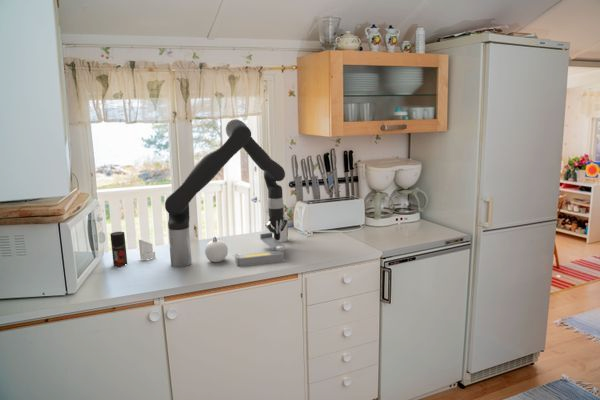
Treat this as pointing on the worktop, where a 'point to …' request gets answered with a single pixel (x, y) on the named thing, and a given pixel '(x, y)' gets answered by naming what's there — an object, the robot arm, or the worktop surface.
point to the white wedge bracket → (146, 250)
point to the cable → (257, 255)
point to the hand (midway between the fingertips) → (277, 239)
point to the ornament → (216, 250)
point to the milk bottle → (283, 233)
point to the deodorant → (118, 248)
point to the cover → (272, 241)
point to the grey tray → (259, 258)
